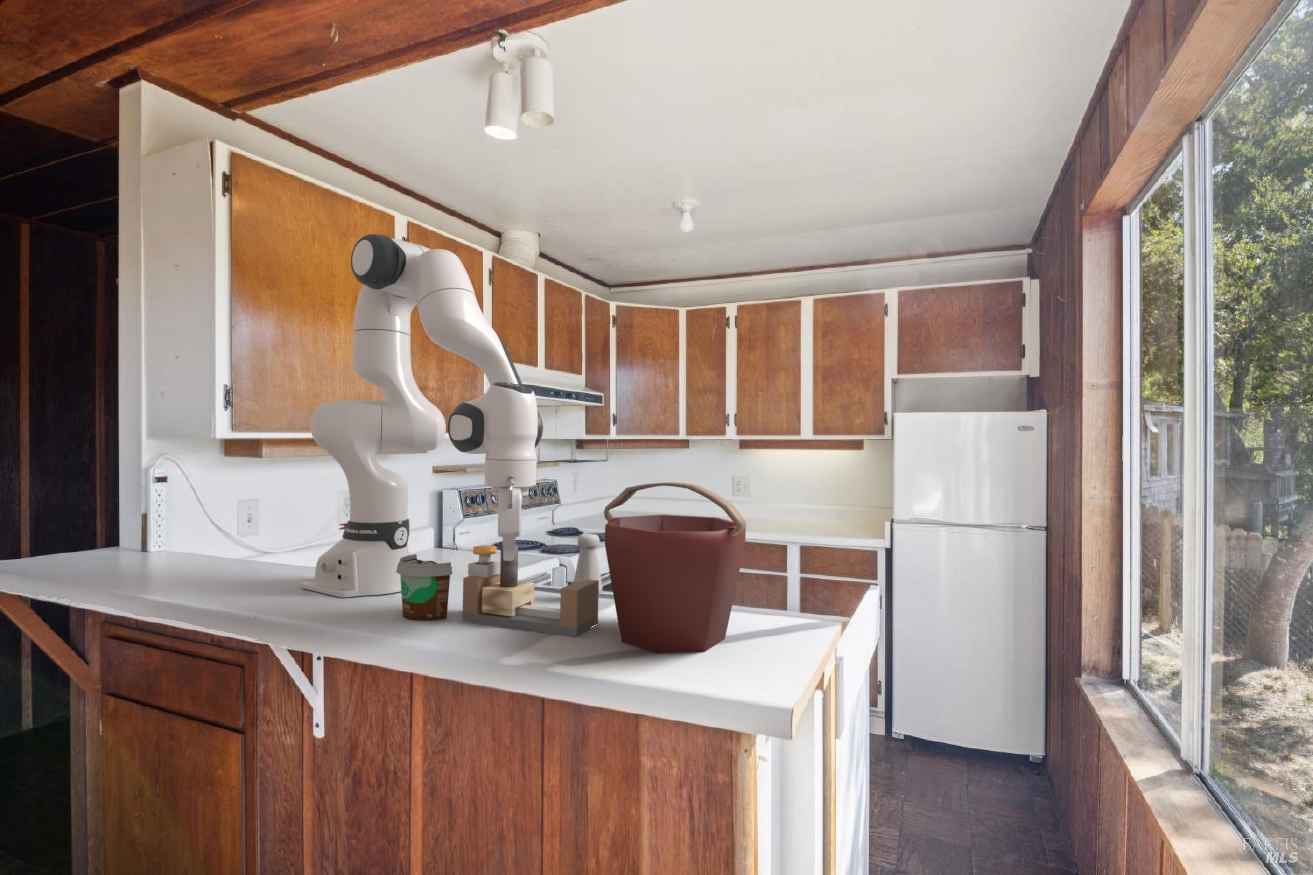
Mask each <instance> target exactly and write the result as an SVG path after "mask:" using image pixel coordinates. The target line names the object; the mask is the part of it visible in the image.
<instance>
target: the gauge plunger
mask: <svg viewBox="0 0 1313 875" xmlns="http://www.w3.org/2000/svg"><path fill="white" fill-rule="evenodd" d="M472 548H473V549H472V554H474V555H478V561H479V564H481V565H489V564H490V562H491V561H492V560H491V559H492V557H491V556H492V555H495V554H497V546H496V545H486V544H485V545H484V544H483V545H476V546H473V547H472Z"/></svg>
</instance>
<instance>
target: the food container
mask: <svg viewBox="0 0 1313 875" xmlns="http://www.w3.org/2000/svg"><path fill="white" fill-rule="evenodd" d="M396 572H397V573H398V574H400V579H401V591H400V593H401V606H402V611H401V612H402V617H403V619H405V620H407V621H412V622H434V621H442V620H446V619H447V618H448V608H449V595H450V584H451V583H450V582H451V575H453V567H452V562H451V561H450V562H442V563H438V562H437V561H436V562H435V561H433V560H421V559H418V556H417V553H416V554H409V555H408V556H405V557H402V558H401V559H400V562H398V566H397V570H396Z"/></svg>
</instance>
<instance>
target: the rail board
mask: <svg viewBox="0 0 1313 875" xmlns="http://www.w3.org/2000/svg"><path fill="white" fill-rule="evenodd" d="M467 568H468V570H467V571H468V572H467V576H465V577H463V578H462V579H463V580H462V622H466V623H471V624H472V623H473V624H479V625H488V626H494V627H502V628H508V629H509V628H510V629H515V630H516V629H517V630H523V631H530V632H536V633H537V632H539V633H543V634H552V635H560V636H565V635H566V636H565V637H573V638H577V637H579V636H581V635H582V634H584V633H586V632H587V631H589V630H590V628H591V627H592V626H594V625H596V624H597V625H599V598H598V593H599V581H598V580H588V579H582V580H580V581H577V582H575V583H574V582H572V583H570V584H568V585H566V586H564V587H561V588H560V605H559V606H560V608H556V607H555V608H554V607H548V606H547V607H546V606H538V605H534V606H532V605H524V604H523V605H521V606H519V607H516V608H515V615H514V616H505V615H498V614H490V613H482V588H484V587H487V586H489V585H492V584H495V583H498V582H500V561H496V560H491V562H490V564H489V565H481V564H479V560H478V561H475V562H471V563H468V564H467ZM597 625H596V626H597ZM594 627H595V626H594ZM592 628H593V627H592ZM592 628H591V629H592ZM588 629H589V630H588ZM585 631H586V632H585ZM583 632H584V633H583ZM581 633H582V634H581ZM580 634H581V635H580Z"/></svg>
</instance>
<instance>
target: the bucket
mask: <svg viewBox="0 0 1313 875" xmlns="http://www.w3.org/2000/svg"><path fill="white" fill-rule="evenodd" d="M663 486H664V487H675V488H683V489H687V490H689V491H692V492H695V493H697V494H698V495H700V496H701V497H704V498H706V499H707V500H710V501H711V502H712V503H714V504H715V505H716V506H718V507H720V508H721V509H722V510H723V511H724V512H725V513H726V515H727V516H728V517H729V518H730V520H728V519H726V518H725V519H724V518H721V517H718V516H717V517H714V516H699V515H698V516H697V515H695V516H693V515H679V514H677V515H676V514H649V515H634V516H618V517H614V516H613V514H612V513H611V511H610V510H612V509H615V508H617V507H620V506H622V505H624V504H625V503H626V502H628V501H629V499H631V498H632V497H633V496H634V495H635V494H636V493H637V492H638V491H642V490H647V489H650V488H656V487H663ZM603 515H604V519H605V520H606V521H607V522H606V524H605V526H604V529H605V530H604V548H605V553H606V560H607V564H608V571H609V576H610V577H609V578H610V582H611V588H612V589H611V590H612V594H613V595H612V596H613V599H614V600H613V601H614V605H615V607H614V608H615V611H616V612H615V613H616V618H617V624H618V630H619V636H620V641H621V643H622V644H626V645H629V646H631V647H635V648H638V649H641V650H644V651H648V652H650V653H653V654H676V653H677V654H679V653H682V654H683V653H705V652H707V651H708V650H710V649H712V648H713V647H715V646H716V645H718V644H720V643H721V642H722V641H724V640H725V639H726V635H727V630H728V626H729V622H730V616H731V611H732V609H733V608H732V607H733V603H734V597H735V594H736V593H735V592H736V588H737V585H738V581H739V579H738V578H739V574H740V569H741V565H742V560H743V556H744V551H745V547H746V531H747V530H746V528H747V522H746V520H745V519H744V518H745V517H743V516H742V514H741V513H740V512H739V510H738V509H737V508H736V507H735V506H734V505H733V504H732V503H730V502H729V501H727V500H726V499H725V498H723V497H722V496H720V495H719V494H717V493H715V492H713V491H711V490H709V489H707V488H704V487H703V486H700V485H699V484H692V483H685V482H672V481H668V482H655V483H645V484H639V485H638V484H637V485H633V486H629V487H626V488H625V489H623V491H622V492H620V494H619V495H617V496H616V497H615V498H614V499H613V500H612V501H611V502H609V503H608V504H607V505H606V506H605V507H604V510H603Z"/></svg>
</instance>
